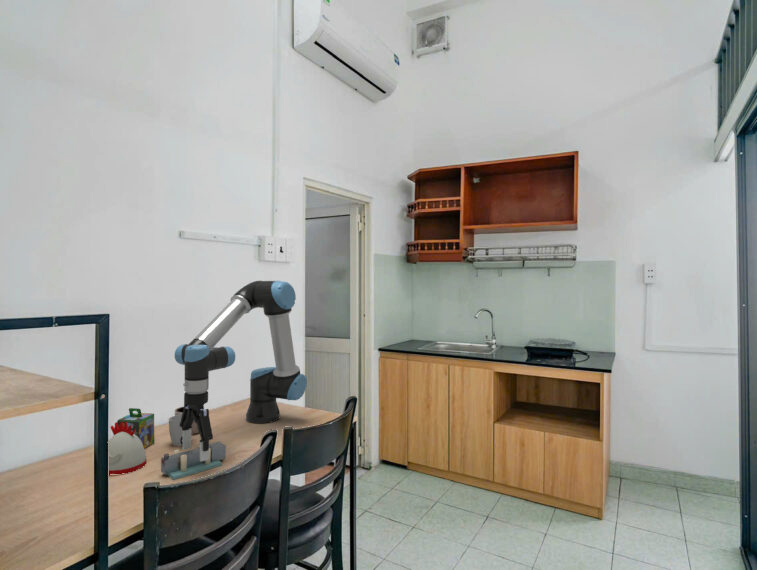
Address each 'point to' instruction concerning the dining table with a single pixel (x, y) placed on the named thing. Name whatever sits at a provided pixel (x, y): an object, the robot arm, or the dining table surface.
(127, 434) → the kitchen timer
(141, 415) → the chalk box
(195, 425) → the planter
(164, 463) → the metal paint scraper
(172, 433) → the cup
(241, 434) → the dining table surface
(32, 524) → the dining table surface
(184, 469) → the peg rack
